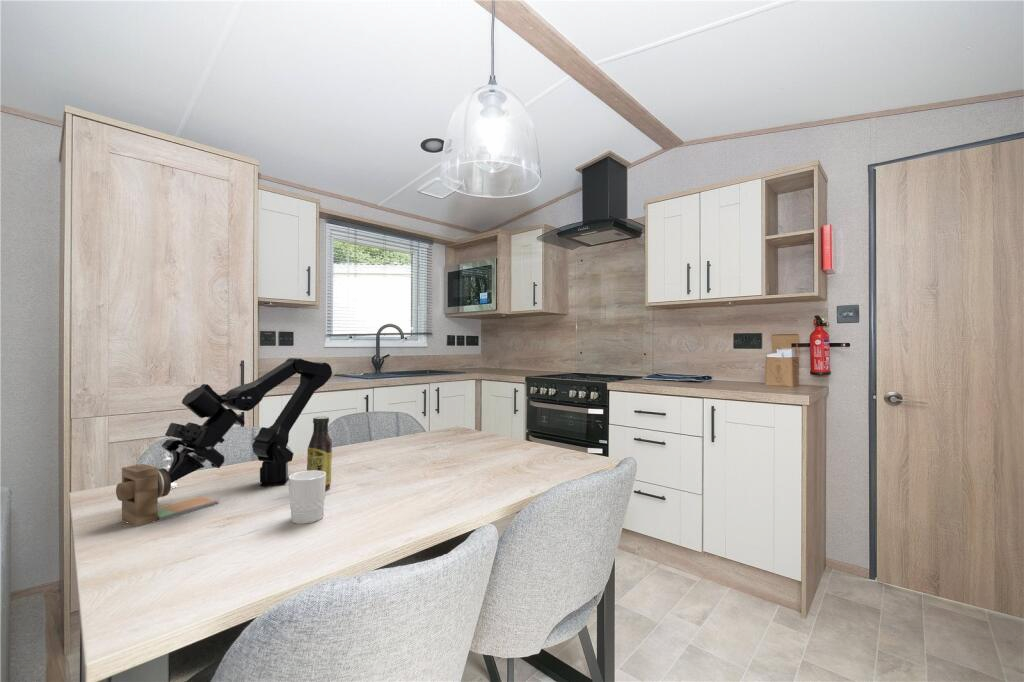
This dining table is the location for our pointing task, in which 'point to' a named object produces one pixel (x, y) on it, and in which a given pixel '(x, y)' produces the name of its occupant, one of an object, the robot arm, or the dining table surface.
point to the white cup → (307, 496)
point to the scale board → (184, 507)
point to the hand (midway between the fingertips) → (165, 483)
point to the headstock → (141, 495)
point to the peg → (128, 488)
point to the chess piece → (166, 463)
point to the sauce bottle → (320, 449)
